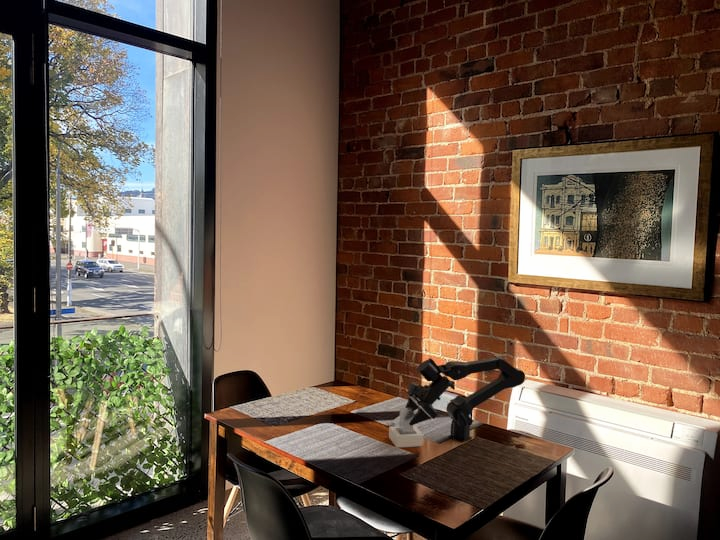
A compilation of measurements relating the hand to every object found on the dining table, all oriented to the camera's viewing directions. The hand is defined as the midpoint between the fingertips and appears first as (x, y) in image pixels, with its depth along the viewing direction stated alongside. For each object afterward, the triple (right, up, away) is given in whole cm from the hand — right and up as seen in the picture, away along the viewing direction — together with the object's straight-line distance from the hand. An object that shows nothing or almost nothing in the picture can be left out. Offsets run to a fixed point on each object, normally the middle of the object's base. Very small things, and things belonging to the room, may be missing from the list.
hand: (405, 420), depth 213 cm
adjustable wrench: (0, -6, +27) cm, 28 cm away
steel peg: (0, -8, +1) cm, 8 cm away
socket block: (0, -8, +1) cm, 8 cm away
